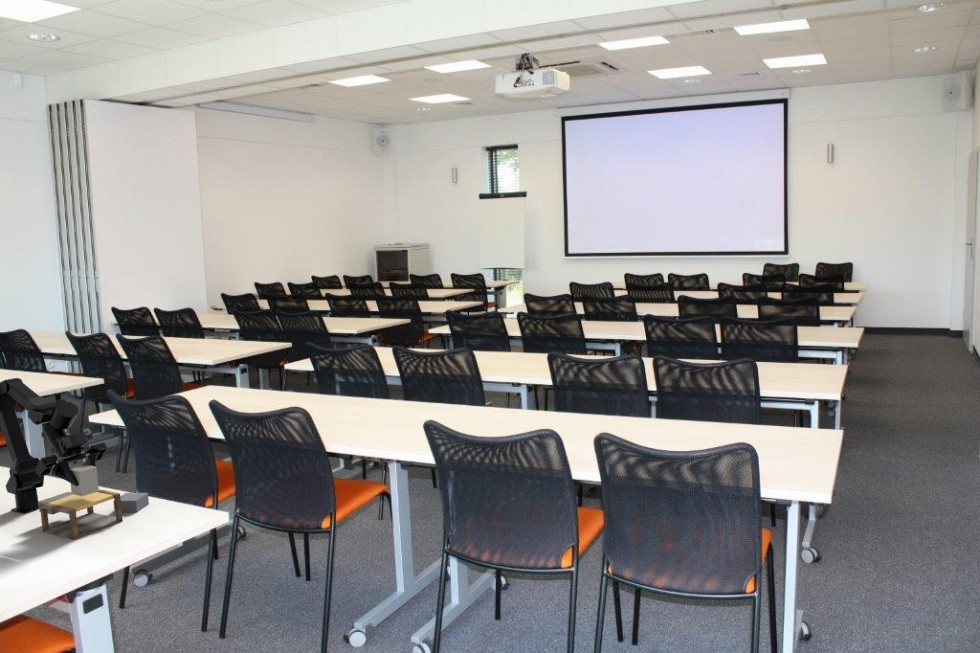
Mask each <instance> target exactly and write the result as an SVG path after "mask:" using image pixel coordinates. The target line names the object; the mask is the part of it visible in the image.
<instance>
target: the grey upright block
mask: <svg viewBox="0 0 980 653" xmlns="http://www.w3.org/2000/svg"><path fill="white" fill-rule="evenodd" d="M70 469H71V471H72V472H73V474H74V476H75V477H76V479H77V481H78V483H79V485H78V486H75V485H73V484H71V483H70V492H71V493H72V494H74V495H78V496H85V495H88V494H92V493H95V492H98V491H99V489H100V488H99V479H98V470H97V469H98V468H97V466H96V467H94V466H90V465H84V464H82V465H80V466H76V467H73V468H70Z"/></svg>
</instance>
